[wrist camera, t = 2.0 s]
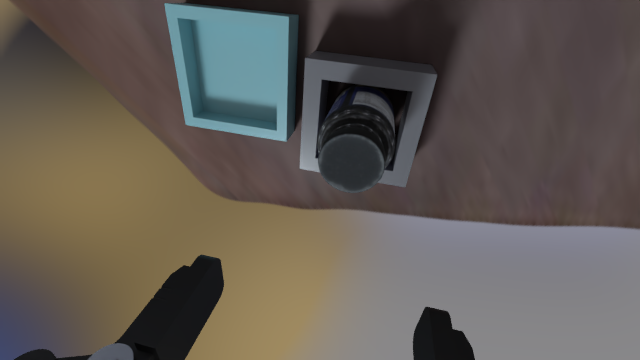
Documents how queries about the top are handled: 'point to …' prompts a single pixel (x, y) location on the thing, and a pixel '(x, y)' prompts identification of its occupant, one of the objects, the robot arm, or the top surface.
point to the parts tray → (236, 68)
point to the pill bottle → (357, 139)
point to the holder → (370, 73)
